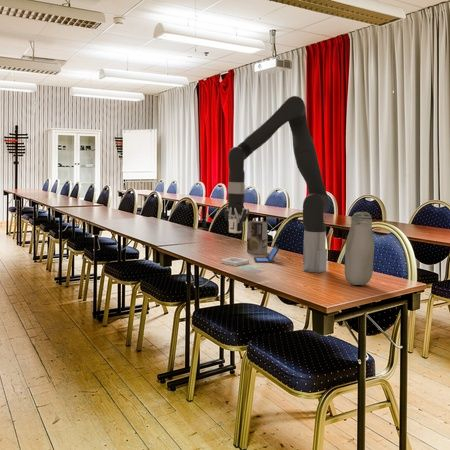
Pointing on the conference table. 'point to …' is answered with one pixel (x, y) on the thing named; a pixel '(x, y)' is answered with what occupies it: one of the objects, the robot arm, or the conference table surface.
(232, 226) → the letter cube
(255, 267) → the coaster sage
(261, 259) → the handheld game console
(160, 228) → the conference table surface
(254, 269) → the coaster grey
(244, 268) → the coaster teal
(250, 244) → the coffee box
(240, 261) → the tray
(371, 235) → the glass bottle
